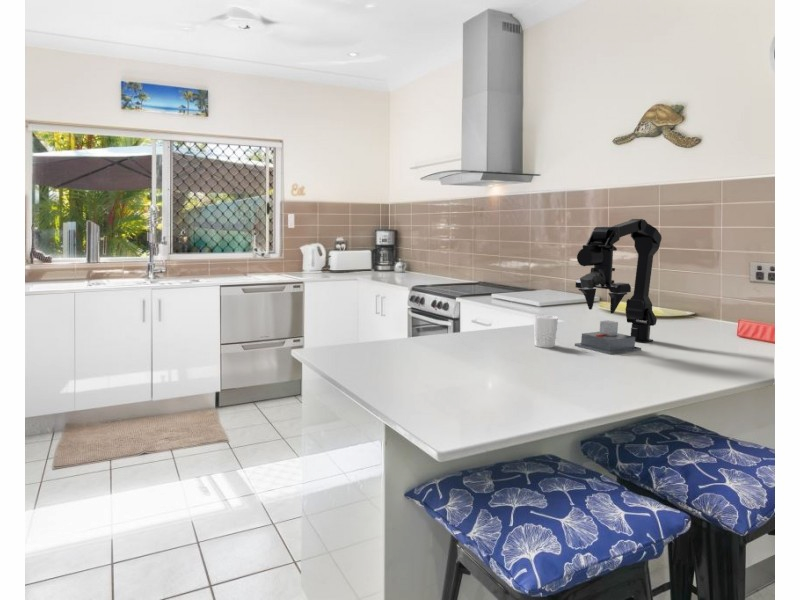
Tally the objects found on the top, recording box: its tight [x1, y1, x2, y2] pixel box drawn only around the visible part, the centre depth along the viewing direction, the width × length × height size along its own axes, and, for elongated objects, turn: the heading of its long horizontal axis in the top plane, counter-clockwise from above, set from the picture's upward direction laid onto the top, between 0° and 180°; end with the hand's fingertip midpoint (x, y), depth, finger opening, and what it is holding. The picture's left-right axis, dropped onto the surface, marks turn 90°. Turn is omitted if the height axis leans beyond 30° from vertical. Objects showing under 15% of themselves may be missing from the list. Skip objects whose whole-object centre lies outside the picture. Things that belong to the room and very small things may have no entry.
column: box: [598, 319, 619, 337], centre depth 190 cm, size 4×4×8 cm
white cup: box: [533, 314, 559, 349], centre depth 192 cm, size 8×8×10 cm
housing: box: [574, 331, 642, 356], centre depth 190 cm, size 15×15×5 cm
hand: (601, 311), depth 189 cm, fingers open, 9 cm apart
